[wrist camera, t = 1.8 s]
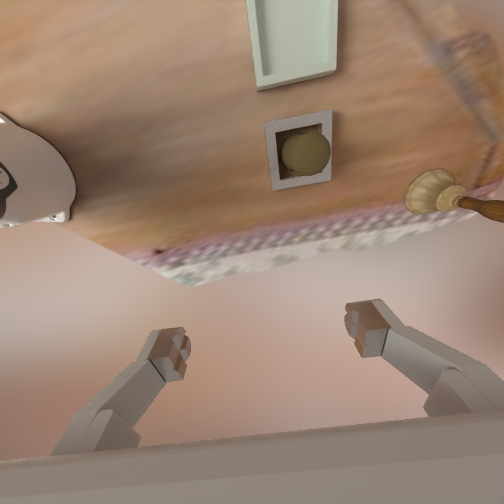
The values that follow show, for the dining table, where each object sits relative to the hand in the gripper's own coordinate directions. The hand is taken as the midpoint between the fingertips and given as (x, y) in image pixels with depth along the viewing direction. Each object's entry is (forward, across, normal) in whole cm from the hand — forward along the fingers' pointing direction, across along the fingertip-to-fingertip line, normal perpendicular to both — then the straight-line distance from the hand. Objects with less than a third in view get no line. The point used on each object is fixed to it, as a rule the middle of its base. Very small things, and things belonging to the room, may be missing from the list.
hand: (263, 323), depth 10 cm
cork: (+31, +9, +5) cm, 33 cm away
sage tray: (+31, +9, +20) cm, 38 cm away
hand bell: (+30, +33, -6) cm, 45 cm away
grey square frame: (+31, +9, +5) cm, 33 cm away
